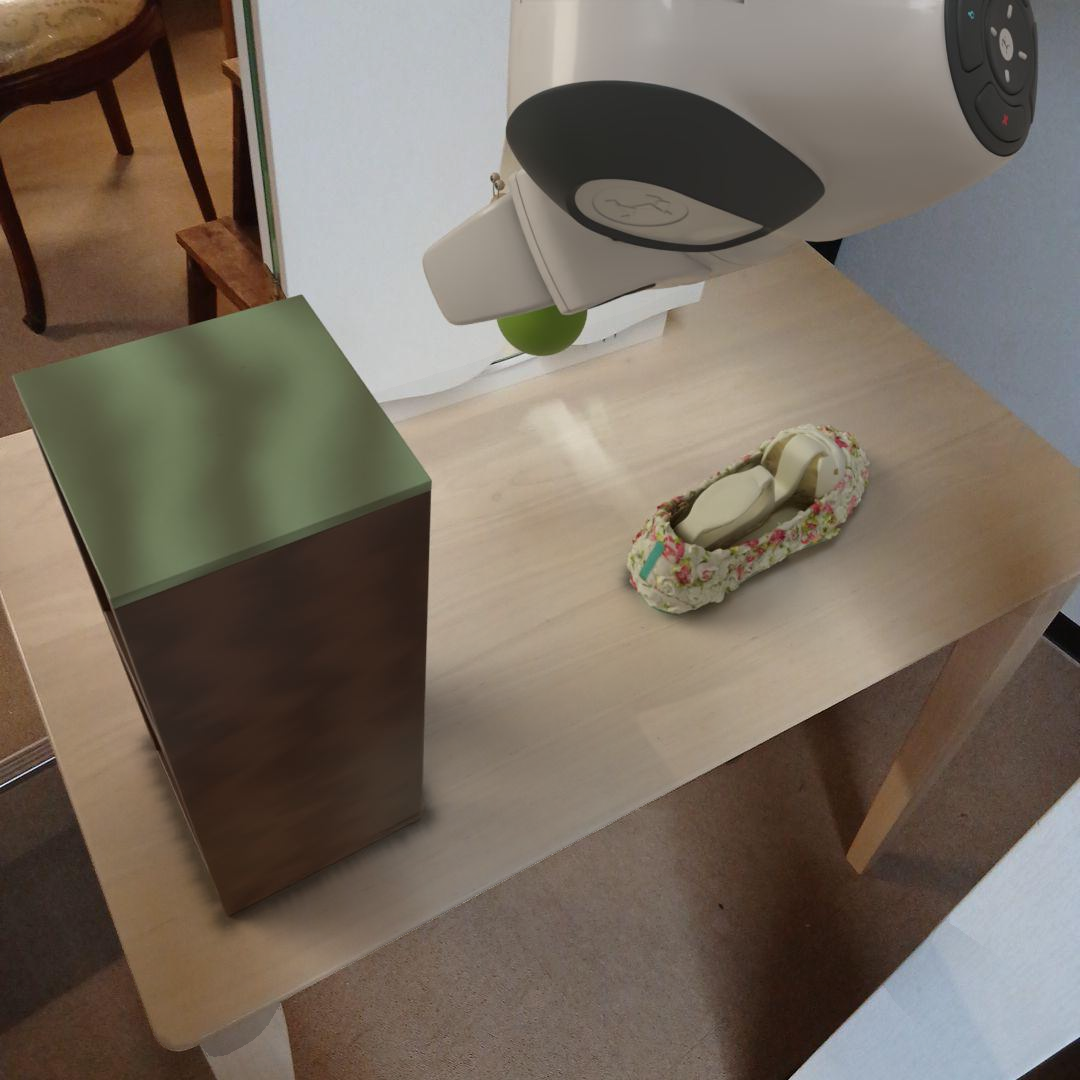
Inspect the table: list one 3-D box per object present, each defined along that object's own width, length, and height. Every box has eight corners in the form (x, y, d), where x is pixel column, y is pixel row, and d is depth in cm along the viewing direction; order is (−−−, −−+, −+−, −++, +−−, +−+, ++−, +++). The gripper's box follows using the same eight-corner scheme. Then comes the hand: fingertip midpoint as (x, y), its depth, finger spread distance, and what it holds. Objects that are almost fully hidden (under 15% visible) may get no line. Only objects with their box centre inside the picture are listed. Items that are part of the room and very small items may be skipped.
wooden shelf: (226, 917, 59) (109, 599, 35) (153, 744, 64) (11, 374, 41) (422, 818, 63) (432, 479, 40) (336, 665, 69) (302, 293, 46)
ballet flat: (896, 491, 84) (935, 419, 78) (695, 665, 72) (722, 597, 66) (802, 424, 88) (832, 351, 82) (596, 579, 76) (613, 507, 70)
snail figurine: (464, 327, 65) (473, 149, 56) (560, 309, 67) (584, 133, 58) (496, 386, 62) (512, 207, 53) (595, 365, 64) (627, 189, 55)
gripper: (817, 56, 52) (645, 144, 64) (491, 177, 43) (360, 254, 55) (857, 181, 54) (682, 244, 66) (551, 325, 44) (410, 369, 56)
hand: (533, 250), depth 60 cm, fingers closed on snail figurine, 5 cm apart
